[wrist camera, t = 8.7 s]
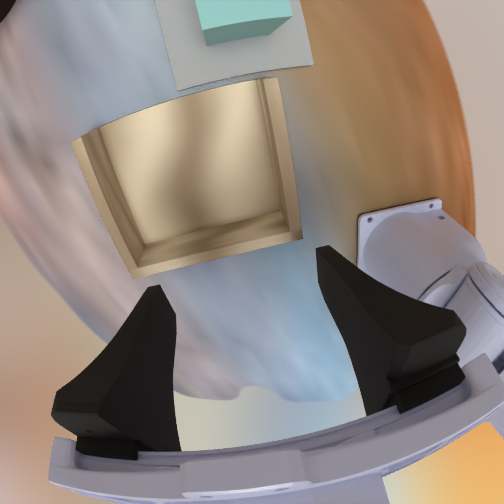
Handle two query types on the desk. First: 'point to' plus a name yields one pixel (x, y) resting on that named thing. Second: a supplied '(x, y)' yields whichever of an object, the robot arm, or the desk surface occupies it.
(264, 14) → the block
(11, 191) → the desk surface
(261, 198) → the tan shallow tray
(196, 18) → the pad
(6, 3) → the coffee mug
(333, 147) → the desk surface
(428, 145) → the desk surface
